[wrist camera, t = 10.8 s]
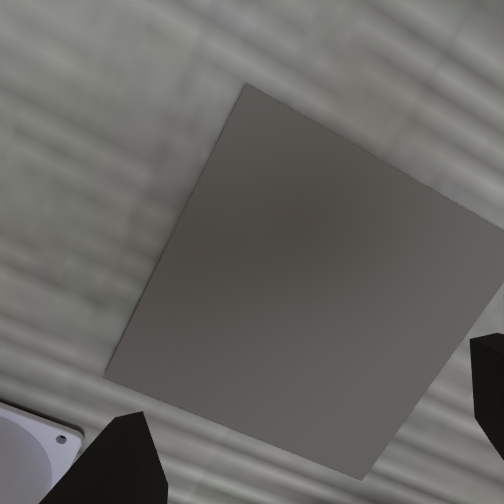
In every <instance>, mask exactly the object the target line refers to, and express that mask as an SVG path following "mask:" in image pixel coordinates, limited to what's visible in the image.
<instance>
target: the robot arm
mask: <svg viewBox="0 0 504 504" xmlns="http://www.w3.org/2000/svg"><path fill="white" fill-rule="evenodd" d="M470 352H471V368H472V383H473V399H474V414H475V419H476V420H477V422H478V423H479V425H480V426H481V428H482V429H483V431H484V432H485V434H486V435H487V437H488V439H489V440H490V442H491V443H492V444H493V446H494V447H495V449H496V450H497V452H498V453H499V454H500V456H501V457H502V459H503V460H504V334H500V333H495V334H490V335H486V336H481V337H477V338H472V339H470ZM60 435H62V436H65V437H66V438H62V437H60ZM83 439H84V438H83V435H82V434H81V433H80V432H79V431H77V430H74V429H71V428H68V427H66V426H63V425H60V424H58V423H55V422H52V421H49V420H47V419H44V418H41V417H39V416H36V415H33V414H30V413H28V412H25V411H22V410H20V409H17V408H14V407H12V406H9V405H6V404H3V403H1V402H0V504H167V499H168V483H167V480H166V477H165V474H164V471H163V469H162V466H161V463H160V460H159V457H158V454H157V451H156V448H155V445H154V443H153V440H152V437H151V434H150V431H149V428H148V425H147V422H146V419H145V417H144V414H143V411H142V412H137V413H133V414H128V415H124V416H119V417H115V418H114V419H113V420H112V421H111V422H110V423H109V424H108V425H107V426H106V428H105V429H104V430H103V431H102V432H101V433H100V434H99V435H98V436H97V438H96V439H95V440H94V441H93V442H92V443H91V444H90V446H89V447H88V448H87V449H86V450H85V451H84V453H83V454H82V455H81V456H80V457H79V458H78V459H77V461H76V462H75V463H74V464H73V465H72V463H73V461H74V459H75V457H76V455H77V453H78V451H79V449H80V447H81V445H82V443H83ZM71 465H72V466H71Z"/></svg>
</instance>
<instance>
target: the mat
mask: <svg viewBox="0 0 504 504" xmlns="http://www.w3.org/2000/svg"><path fill="white" fill-rule="evenodd" d="M503 283H504V230H502V229H500V228H498V227H497V226H495V225H493V224H491V223H490V222H488V221H486V220H484V219H483V218H481V217H479V216H477V215H476V214H474V213H472V212H471V211H469V210H467V209H465V208H464V207H462V206H460V205H458V204H457V203H455V202H453V201H451V200H450V199H448V198H446V197H444V196H443V195H441V194H439V193H437V192H436V191H434V190H432V189H430V188H429V187H427V186H425V185H424V184H422V183H420V182H418V181H417V180H415V179H413V178H411V177H410V176H408V175H406V174H404V173H403V172H401V171H399V170H397V169H396V168H394V167H392V166H390V165H389V164H387V163H385V162H383V161H382V160H380V159H378V158H377V157H375V156H373V155H371V154H370V153H368V152H366V151H364V150H363V149H361V148H359V147H357V146H356V145H354V144H352V143H350V142H349V141H347V140H345V139H343V138H342V137H340V136H338V135H336V134H335V133H333V132H331V131H330V130H328V129H326V128H324V127H323V126H321V125H319V124H317V123H316V122H314V121H312V120H310V119H309V118H307V117H305V116H303V115H302V114H300V113H298V112H296V111H295V110H293V109H291V108H289V107H288V106H286V105H284V104H283V103H281V102H279V101H277V100H276V99H274V98H272V97H270V96H269V95H267V94H265V93H263V92H262V91H260V90H258V89H256V88H255V87H253V86H251V85H249V84H248V83H246V84H245V86H244V88H243V90H242V92H241V94H240V96H239V99H238V101H237V103H236V105H235V107H234V109H233V111H232V113H231V115H230V117H229V119H228V121H227V123H226V125H225V127H224V129H223V131H222V134H221V136H220V138H219V140H218V142H217V144H216V146H215V148H214V150H213V152H212V154H211V156H210V158H209V160H208V162H207V164H206V166H205V169H204V171H203V173H202V175H201V177H200V179H199V181H198V183H197V185H196V187H195V189H194V191H193V193H192V195H191V197H190V199H189V201H188V203H187V206H186V208H185V210H184V212H183V214H182V216H181V218H180V220H179V222H178V224H177V226H176V228H175V230H174V232H173V234H172V236H171V238H170V241H169V243H168V245H167V247H166V249H165V251H164V253H163V255H162V257H161V259H160V261H159V263H158V265H157V267H156V269H155V271H154V273H153V276H152V278H151V280H150V282H149V284H148V286H147V288H146V290H145V292H144V294H143V296H142V298H141V300H140V302H139V304H138V306H137V308H136V310H135V313H134V315H133V317H132V319H131V321H130V323H129V325H128V327H127V329H126V331H125V333H124V335H123V337H122V339H121V341H120V343H119V345H118V348H117V350H116V352H115V354H114V356H113V358H112V360H111V362H110V364H109V366H108V368H107V370H106V372H105V374H104V376H103V378H105V379H107V380H110V381H112V382H115V383H117V384H120V385H122V386H125V387H127V388H130V389H133V390H135V391H138V392H140V393H143V394H145V395H148V396H150V397H153V398H155V399H158V400H160V401H163V402H165V403H168V404H170V405H173V406H175V407H178V408H180V409H183V410H185V411H188V412H190V413H193V414H195V415H198V416H200V417H203V418H205V419H208V420H210V421H213V422H215V423H218V424H220V425H223V426H225V427H228V428H230V429H233V430H235V431H238V432H241V433H243V434H246V435H248V436H251V437H253V438H256V439H258V440H261V441H263V442H266V443H268V444H271V445H273V446H276V447H278V448H281V449H283V450H286V451H288V452H291V453H293V454H296V455H298V456H301V457H303V458H306V459H308V460H311V461H313V462H316V463H318V464H321V465H323V466H326V467H328V468H331V469H333V470H336V471H338V472H341V473H343V474H346V475H349V476H351V477H354V478H356V479H359V480H361V481H362V480H363V479H364V477H365V476H366V475H367V473H368V472H369V470H370V469H371V468H372V466H373V465H374V463H375V462H376V461H377V459H378V458H379V456H380V455H381V454H382V452H383V451H384V449H385V448H386V447H387V445H388V444H389V442H390V441H391V439H392V438H393V437H394V435H395V434H396V432H397V431H398V430H399V428H400V427H401V425H402V424H403V423H404V421H405V420H406V418H407V417H408V416H409V414H410V413H411V411H412V410H413V409H414V407H415V406H416V404H417V403H418V402H419V400H420V399H421V397H422V396H423V395H424V393H425V392H426V390H427V389H428V388H429V386H430V385H431V383H432V382H433V381H434V379H435V378H436V376H437V375H438V374H439V372H440V371H441V369H442V368H443V367H444V365H445V364H446V362H447V361H448V360H449V358H450V357H451V355H452V354H453V353H454V351H455V350H456V348H457V347H458V346H459V344H460V343H461V341H462V340H463V339H464V337H465V336H466V334H467V333H468V332H469V330H470V329H471V327H472V326H473V325H474V323H475V322H476V320H477V319H478V318H479V316H480V315H481V313H482V312H483V311H484V309H485V308H486V306H487V305H488V304H489V302H490V301H491V299H492V298H493V297H494V295H495V294H496V292H497V291H498V290H499V288H500V287H501V285H502V284H503Z"/></svg>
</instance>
